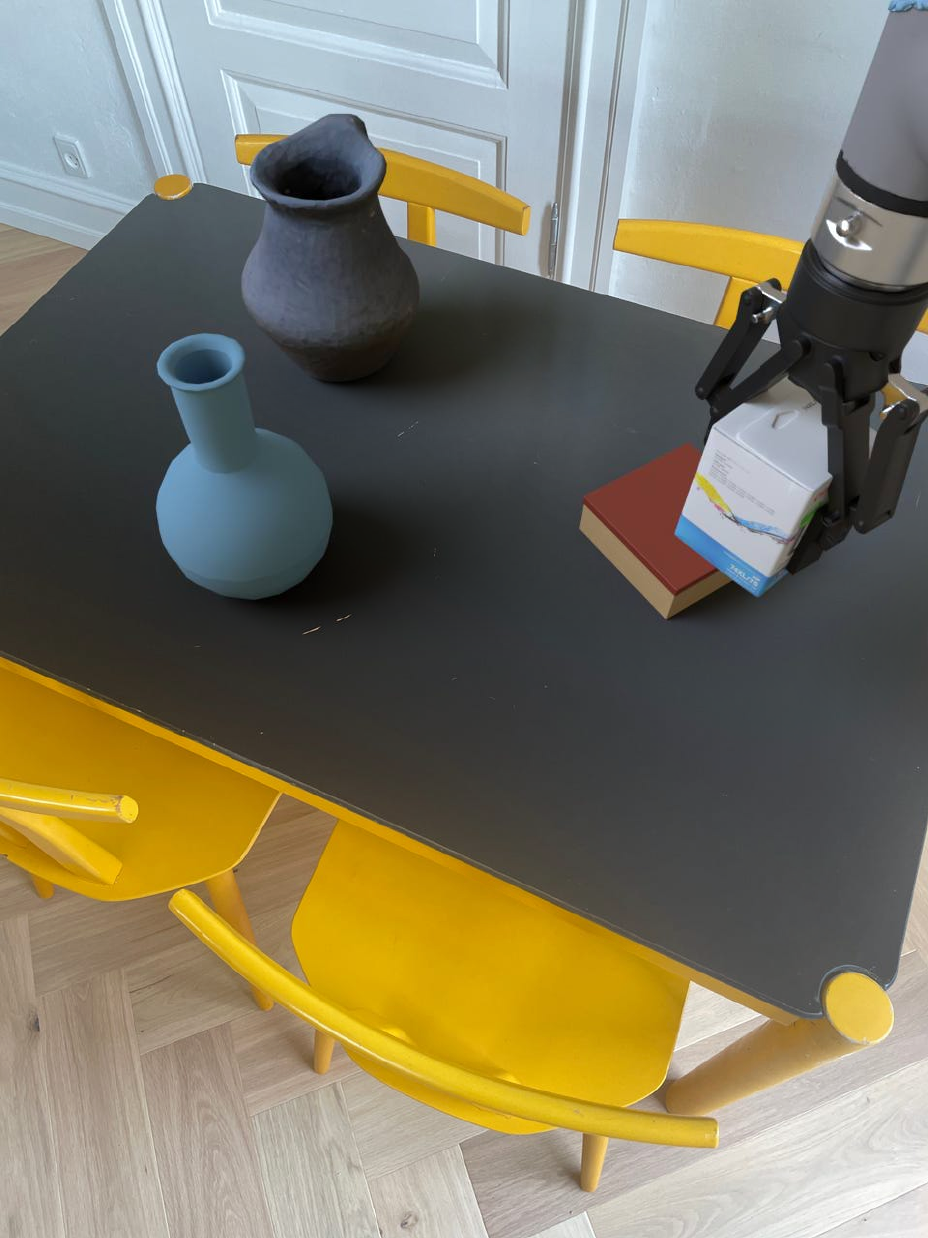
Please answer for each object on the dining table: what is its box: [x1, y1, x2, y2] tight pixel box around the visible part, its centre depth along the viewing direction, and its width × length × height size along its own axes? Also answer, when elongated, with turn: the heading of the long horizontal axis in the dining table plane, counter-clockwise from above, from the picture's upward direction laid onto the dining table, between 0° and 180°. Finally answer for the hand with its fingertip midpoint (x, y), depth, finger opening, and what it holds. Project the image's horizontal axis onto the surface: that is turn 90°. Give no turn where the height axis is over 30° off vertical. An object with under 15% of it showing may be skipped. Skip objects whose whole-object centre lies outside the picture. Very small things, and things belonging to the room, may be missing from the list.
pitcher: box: [240, 113, 421, 383], centre depth 97 cm, size 21×22×25 cm
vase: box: [155, 332, 334, 601], centre depth 78 cm, size 16×16×25 cm
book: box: [579, 442, 733, 620], centre depth 88 cm, size 14×14×5 cm
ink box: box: [675, 375, 878, 598], centre depth 62 cm, size 8×8×12 cm
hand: (755, 522), depth 66 cm, fingers closed on ink box, 9 cm apart
